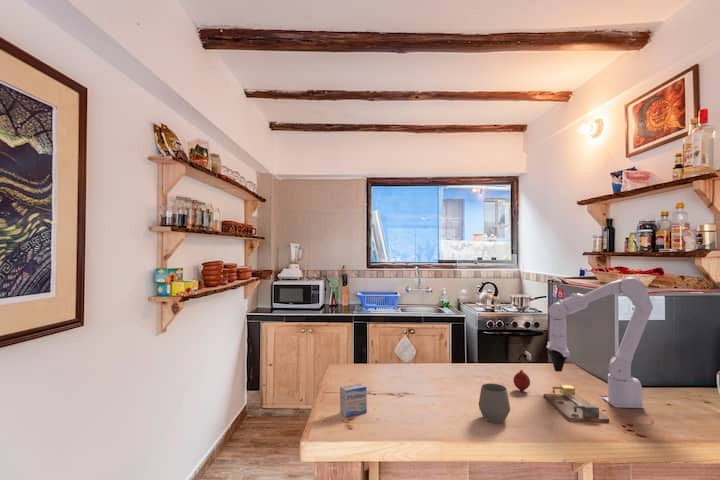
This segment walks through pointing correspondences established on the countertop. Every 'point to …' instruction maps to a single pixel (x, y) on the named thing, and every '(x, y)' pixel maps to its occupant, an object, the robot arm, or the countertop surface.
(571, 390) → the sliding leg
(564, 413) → the gauge board
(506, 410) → the cup
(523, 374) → the onion
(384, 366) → the countertop surface
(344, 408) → the medicine box
